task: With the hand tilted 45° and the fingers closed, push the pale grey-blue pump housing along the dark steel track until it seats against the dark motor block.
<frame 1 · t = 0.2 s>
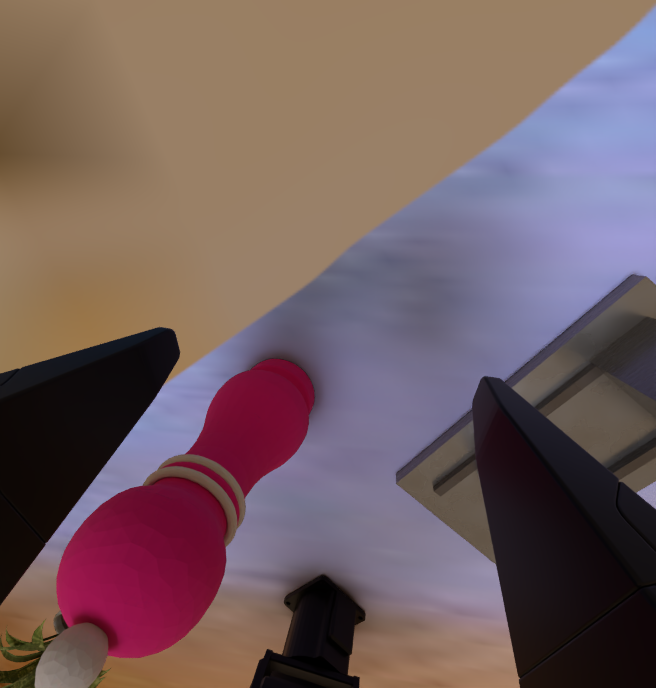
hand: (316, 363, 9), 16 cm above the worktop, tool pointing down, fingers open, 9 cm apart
pepper mill: (280, 391, 28), on the worktop
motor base: (566, 431, 24), on the worktop
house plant: (134, 572, 39), on the worktop
pump: (560, 542, 19), point 7 cm above the worktop, slide at 0.0 cm
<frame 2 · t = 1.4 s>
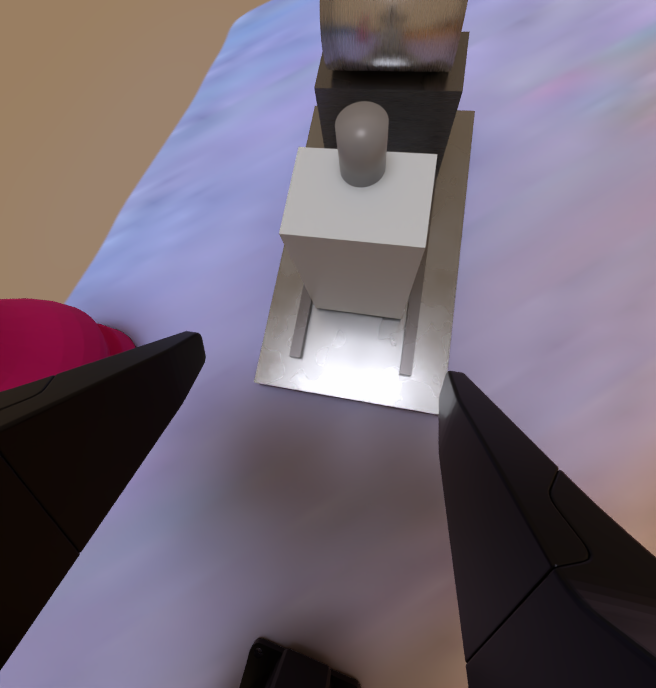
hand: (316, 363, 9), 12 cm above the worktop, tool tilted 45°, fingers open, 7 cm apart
pepper mill: (103, 369, 24), on the worktop
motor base: (372, 235, 24), on the worktop
pump: (360, 240, 16), point 7 cm above the worktop, slide at 0.0 cm
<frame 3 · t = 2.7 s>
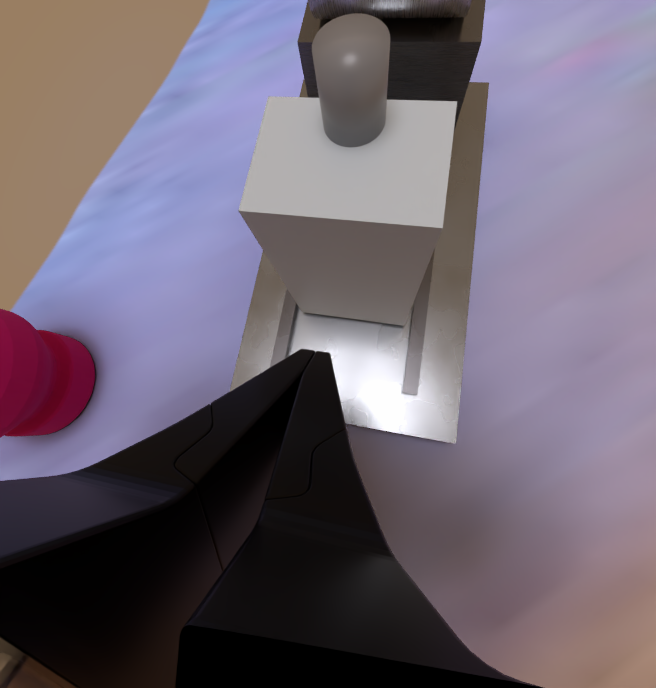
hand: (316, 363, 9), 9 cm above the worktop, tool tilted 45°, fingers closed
pepper mill: (54, 384, 21), on the worktop
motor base: (369, 227, 20), on the worktop
pump: (353, 226, 12), point 7 cm above the worktop, slide at 0.0 cm
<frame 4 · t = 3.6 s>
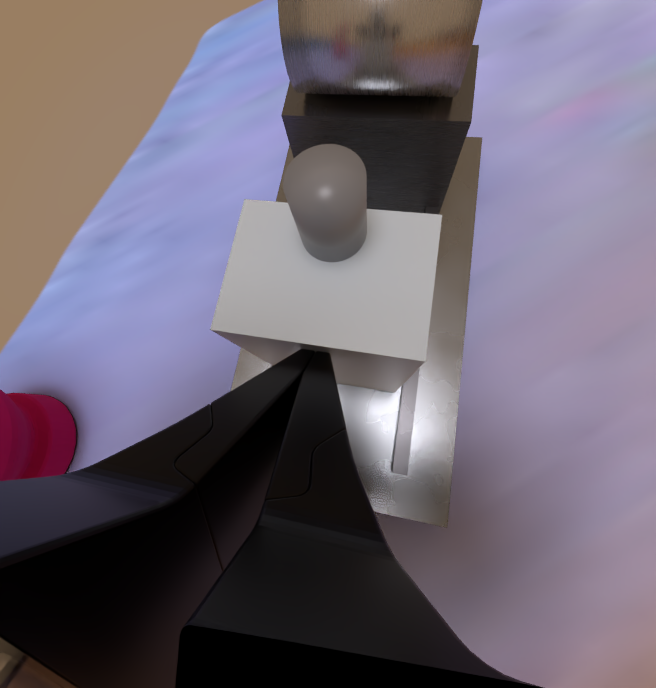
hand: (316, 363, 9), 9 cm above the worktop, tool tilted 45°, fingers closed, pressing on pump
pepper mill: (34, 445, 20), on the worktop
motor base: (359, 285, 20), on the worktop
pump: (338, 313, 12), point 7 cm above the worktop, slide at 0.3 cm, touching gripper
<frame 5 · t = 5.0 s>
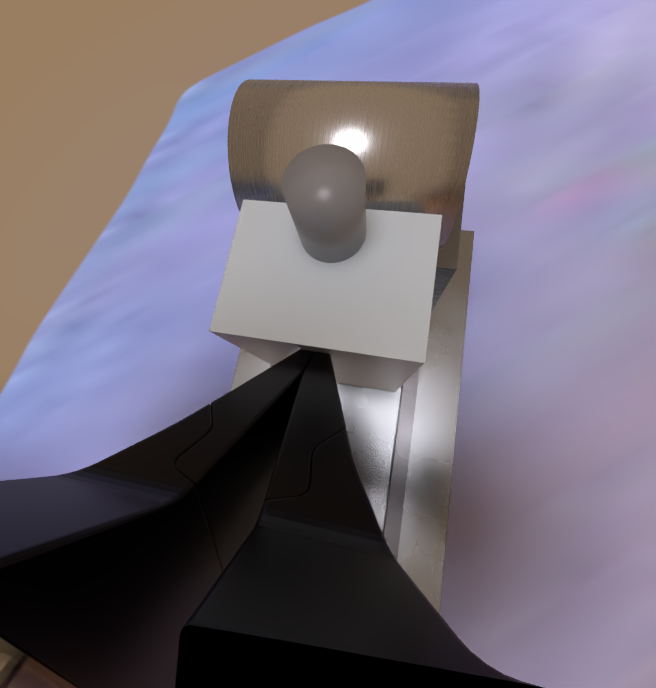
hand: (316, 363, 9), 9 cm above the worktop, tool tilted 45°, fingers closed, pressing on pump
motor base: (342, 391, 18), on the worktop
pump: (337, 313, 12), point 7 cm above the worktop, slide at 6.8 cm, touching gripper, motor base
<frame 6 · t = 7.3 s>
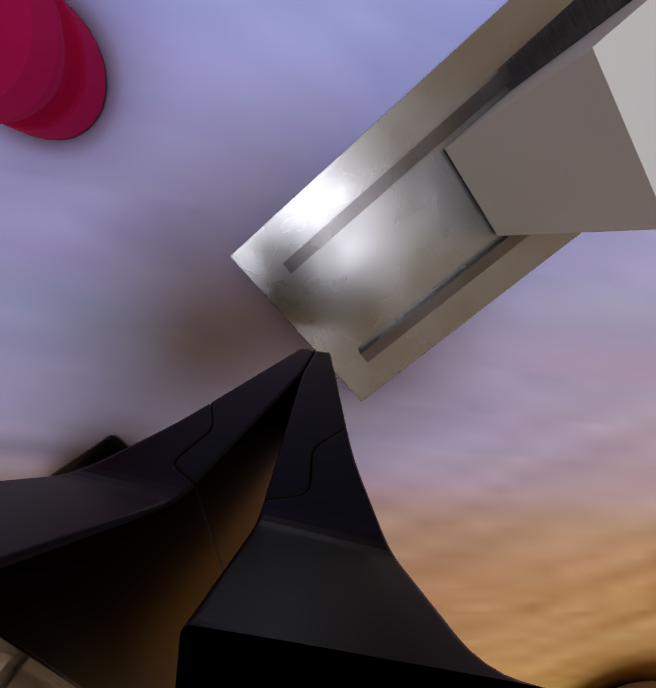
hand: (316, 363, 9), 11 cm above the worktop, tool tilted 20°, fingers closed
pepper mill: (43, 70, 16), on the worktop
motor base: (455, 201, 19), on the worktop
pump: (591, 133, 12), point 7 cm above the worktop, slide at 6.8 cm, touching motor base
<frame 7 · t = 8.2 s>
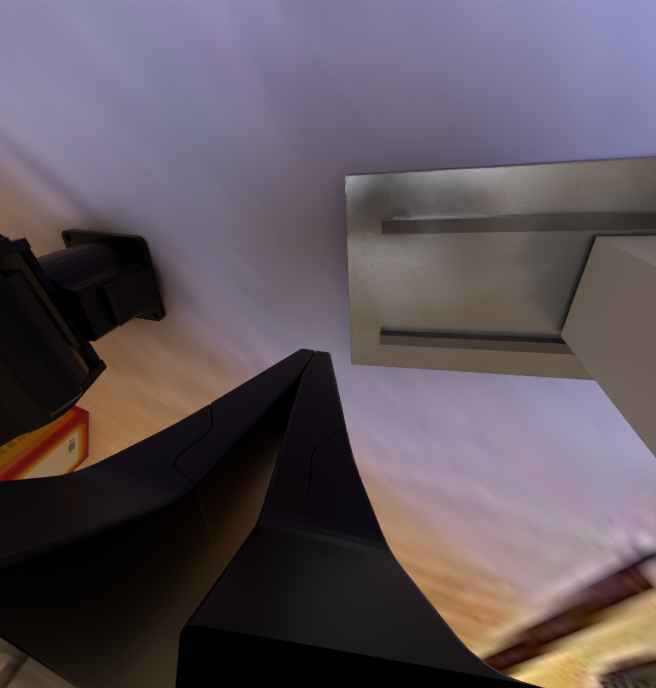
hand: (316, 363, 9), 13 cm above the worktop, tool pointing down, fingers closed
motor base: (559, 280, 18), on the worktop
orange white cardboard box: (64, 422, 38), on the worktop
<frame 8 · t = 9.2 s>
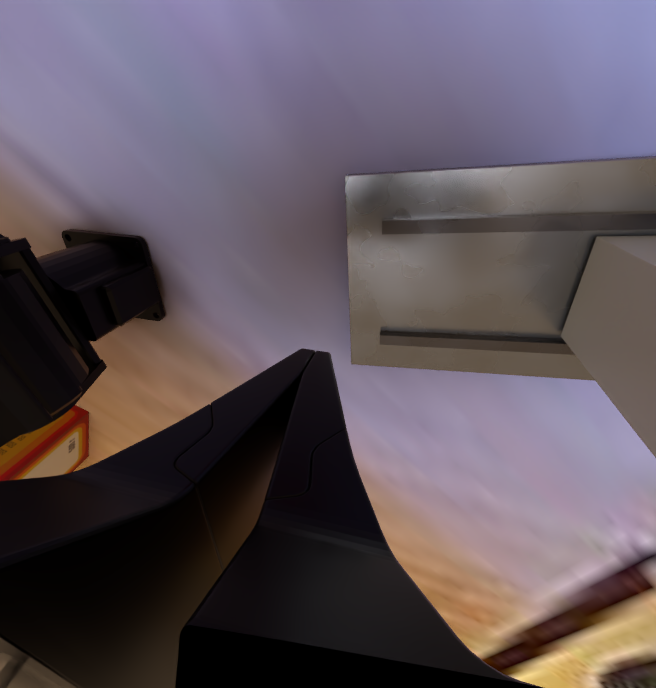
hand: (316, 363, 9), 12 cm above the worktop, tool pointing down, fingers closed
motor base: (559, 280, 18), on the worktop
orange white cardboard box: (64, 422, 38), on the worktop
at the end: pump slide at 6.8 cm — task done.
